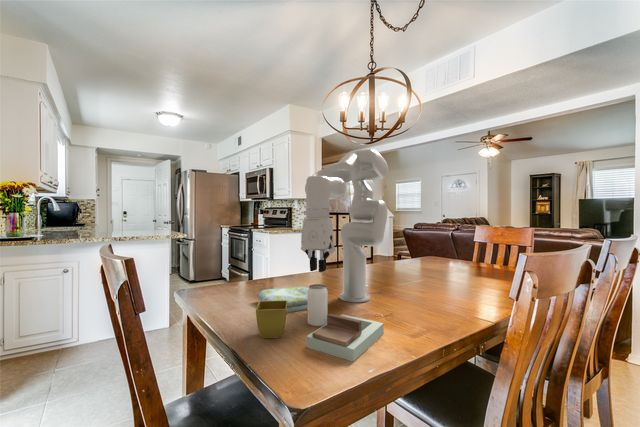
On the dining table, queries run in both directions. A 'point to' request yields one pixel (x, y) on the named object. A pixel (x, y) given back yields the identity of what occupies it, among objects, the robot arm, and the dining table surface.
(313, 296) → the can
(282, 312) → the flower pot
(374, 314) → the dining table surface
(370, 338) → the well board
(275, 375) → the dining table surface
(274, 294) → the towel
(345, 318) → the lid
